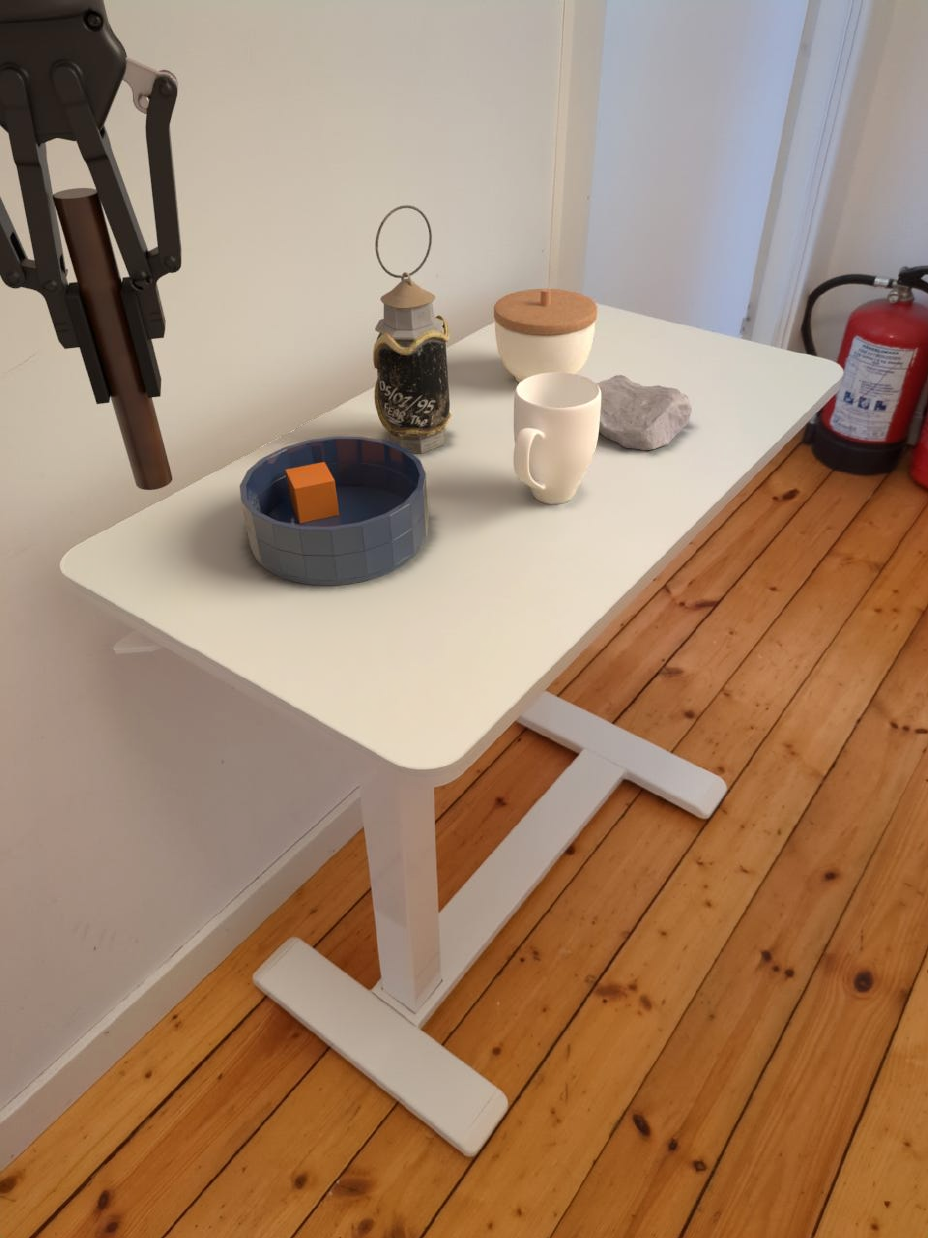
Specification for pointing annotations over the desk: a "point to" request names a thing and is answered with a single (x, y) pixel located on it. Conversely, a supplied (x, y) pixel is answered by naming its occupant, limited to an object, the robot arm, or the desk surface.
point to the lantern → (411, 363)
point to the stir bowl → (368, 511)
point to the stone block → (641, 413)
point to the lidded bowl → (544, 331)
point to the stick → (112, 333)
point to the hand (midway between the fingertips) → (129, 390)
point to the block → (312, 492)
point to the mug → (555, 433)
